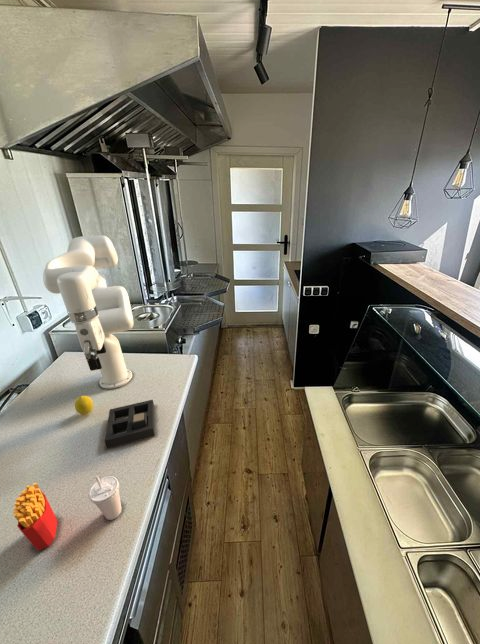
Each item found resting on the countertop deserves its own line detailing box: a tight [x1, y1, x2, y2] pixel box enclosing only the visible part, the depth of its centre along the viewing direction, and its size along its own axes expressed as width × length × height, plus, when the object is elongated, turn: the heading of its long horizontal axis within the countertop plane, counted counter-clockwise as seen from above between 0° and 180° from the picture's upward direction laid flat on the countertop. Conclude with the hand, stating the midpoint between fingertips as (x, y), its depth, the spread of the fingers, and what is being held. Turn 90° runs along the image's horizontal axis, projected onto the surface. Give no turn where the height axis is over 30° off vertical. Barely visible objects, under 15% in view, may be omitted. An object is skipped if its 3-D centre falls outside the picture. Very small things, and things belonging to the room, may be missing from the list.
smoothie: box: [88, 474, 122, 521], centre depth 70 cm, size 6×6×14 cm
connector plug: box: [132, 411, 148, 430], centre depth 95 cm, size 4×4×6 cm
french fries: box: [13, 482, 58, 551], centre depth 66 cm, size 9×4×13 cm, turn 25°
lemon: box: [74, 395, 94, 416], centre depth 102 cm, size 6×6×8 cm
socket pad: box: [103, 399, 156, 449], centre depth 98 cm, size 14×14×4 cm
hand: (98, 360), depth 93 cm, fingers open, 9 cm apart
